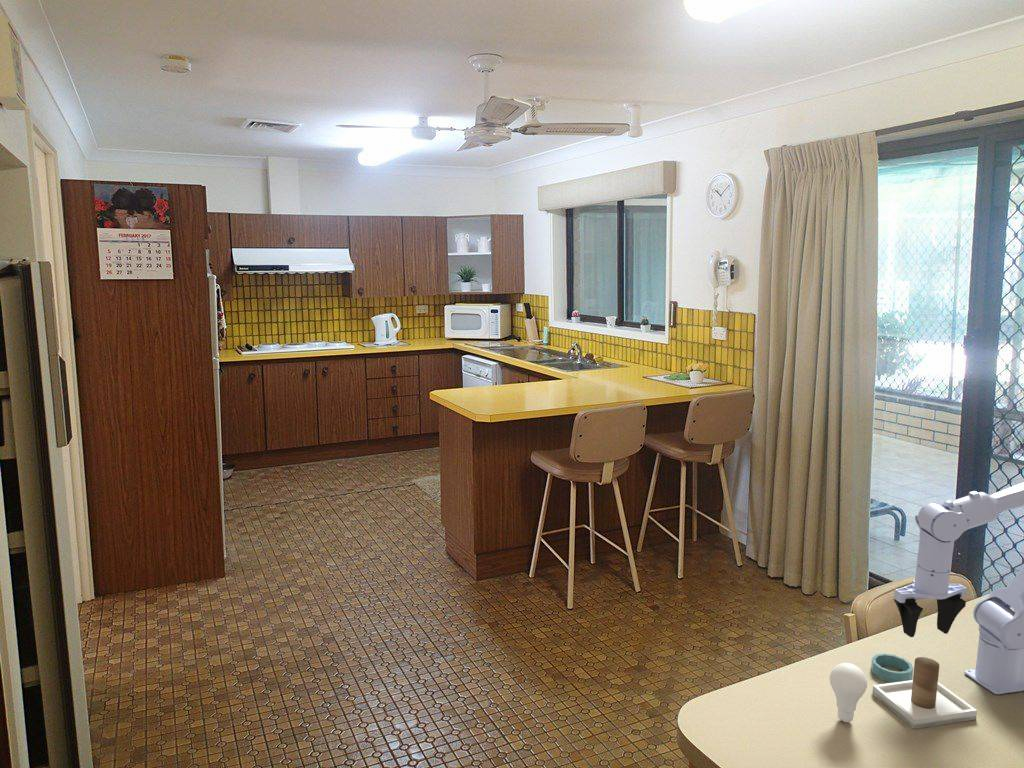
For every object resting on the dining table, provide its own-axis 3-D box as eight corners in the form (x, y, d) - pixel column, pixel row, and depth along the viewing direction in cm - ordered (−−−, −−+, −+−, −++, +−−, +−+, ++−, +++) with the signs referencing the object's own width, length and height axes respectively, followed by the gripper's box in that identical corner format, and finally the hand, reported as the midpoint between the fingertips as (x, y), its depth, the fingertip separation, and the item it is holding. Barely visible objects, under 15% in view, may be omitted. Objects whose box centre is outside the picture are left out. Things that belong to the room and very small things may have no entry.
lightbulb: (867, 733, 133) (872, 676, 131) (830, 729, 134) (834, 672, 132) (858, 713, 139) (863, 658, 137) (823, 709, 140) (827, 654, 138)
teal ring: (894, 661, 156) (895, 652, 156) (919, 681, 149) (920, 670, 149) (863, 666, 155) (864, 656, 154) (887, 685, 148) (888, 675, 147)
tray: (931, 685, 147) (931, 677, 147) (976, 719, 137) (977, 710, 137) (872, 694, 145) (873, 685, 144) (913, 728, 134) (914, 719, 134)
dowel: (924, 695, 143) (928, 656, 142) (940, 707, 139) (944, 667, 138) (906, 697, 142) (909, 658, 141) (921, 710, 138) (925, 669, 137)
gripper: (950, 556, 150) (942, 619, 152) (886, 561, 147) (879, 626, 149) (978, 570, 143) (969, 637, 146) (912, 576, 140) (904, 644, 143)
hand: (925, 632), depth 147 cm, fingers open, 7 cm apart
